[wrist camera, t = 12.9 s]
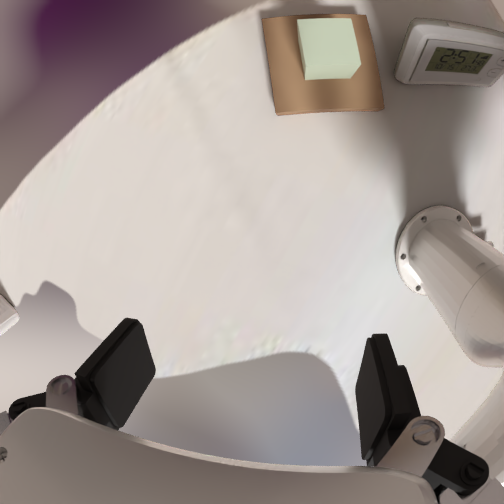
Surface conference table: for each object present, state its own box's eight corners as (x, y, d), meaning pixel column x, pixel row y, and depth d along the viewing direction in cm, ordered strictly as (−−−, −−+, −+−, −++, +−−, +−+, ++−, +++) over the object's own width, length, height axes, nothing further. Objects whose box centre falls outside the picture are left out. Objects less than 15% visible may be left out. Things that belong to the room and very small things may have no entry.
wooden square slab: (361, 24, 25) (366, 14, 22) (377, 111, 29) (384, 108, 26) (264, 28, 27) (261, 18, 24) (277, 115, 31) (275, 112, 28)
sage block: (342, 38, 24) (351, 18, 18) (350, 78, 25) (361, 64, 20) (298, 40, 25) (297, 19, 19) (304, 80, 26) (305, 65, 21)
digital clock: (387, 83, 27) (420, 61, 17) (380, 21, 24) (405, -15, 14) (489, 107, 25) (537, 104, 15) (482, 50, 21) (524, 33, 12)
